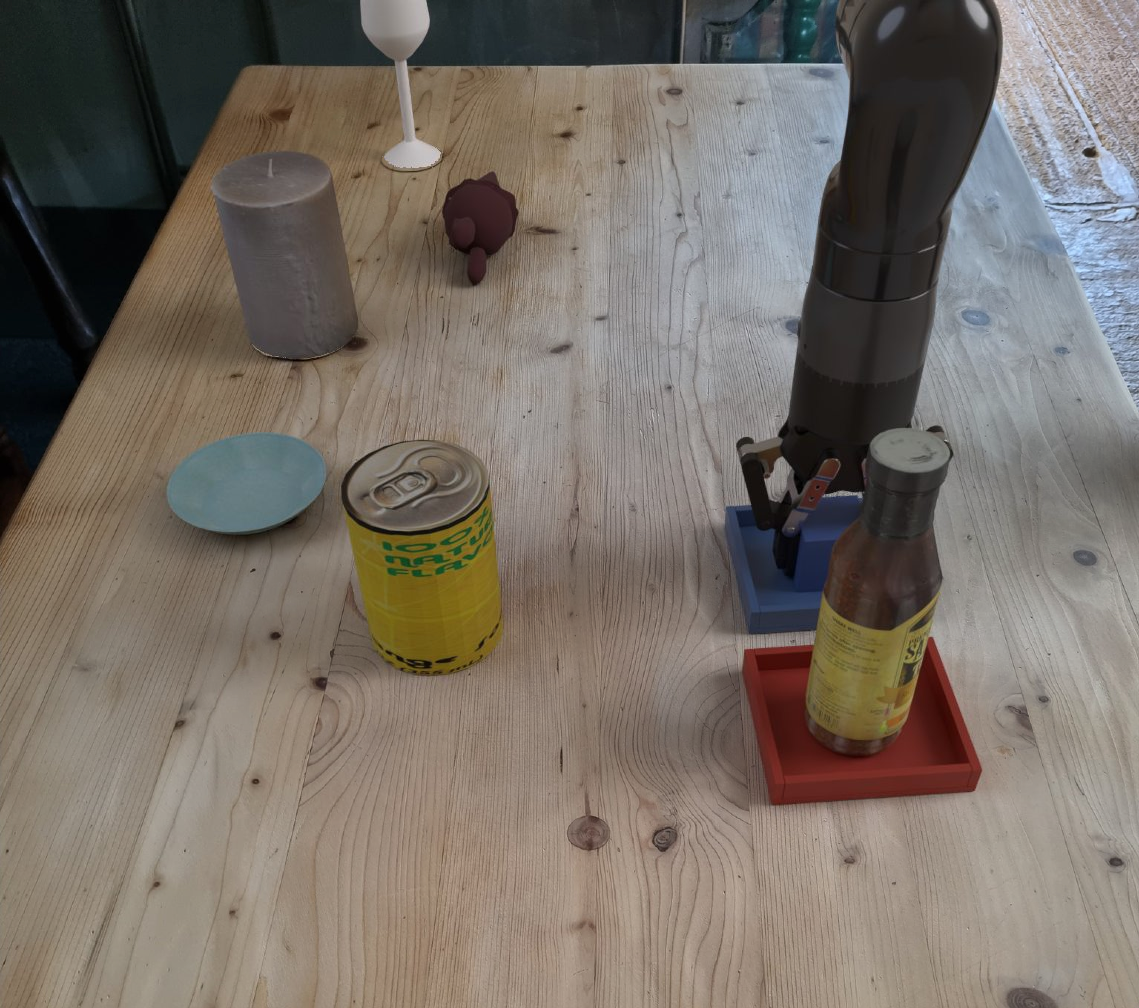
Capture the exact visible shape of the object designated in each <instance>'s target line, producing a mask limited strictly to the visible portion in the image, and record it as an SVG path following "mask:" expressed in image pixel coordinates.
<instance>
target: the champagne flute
mask: <svg viewBox="0 0 1139 1008" xmlns="http://www.w3.org/2000/svg"><path fill="white" fill-rule="evenodd" d="M359 2H360V5H359V6H360V21H361V28H362V30H363V32H364V35H365V36H366V37H367V39H368V40H369V41H370V43H371V44H372V45H373V46H374V47H375V48H376V49H378V50H379V52H381V53H383V54H384V56H386V57H387V58H389V59H391V60H393V61H394V66H395V74H396V75H395V76H396V82H397V89H398V91H397V92H398V98H399V105H400V114H401V122H402V131H403V138H404V139H403V140H401V141H400V142H399V143H397V144H396V145H395V146H393V147H392V148H390V149H389V150H388V151H386V152H387V153H386V152H385V153H386V154H385V153H384V154H385V156H384V158H385V160H386V161H388V163H389V164H392V165H394V167H395V166H396V167H400V168H403V167H406V168H411V167H412V168H419V167H427V166H431V164H434V163H435V161H438V159H439V158H440V154H441V152H440V151H439V150H440V149H439V148H438V149H439V150H438V149H437V147H436V148H435V146H433V145H431V144H429V143H427V142H425V141H422V140H421V139H418V138H417V137H416V129H415V123H414V122H415V121H414V114H413V105H412V97H411V89H410V88H411V87H410V80H409V79H410V78H409V72H408V63H407V60H408V59H409V58H410V57H412V56H413V55H414V53H415V52H416V51H417V49H418V48H419V47H420V45H421V44H422V43H423V42H424V39H425V38H426V36H427V33H428V31H429V28H430V23H431V22H430V21H431V20H430V19H431V18H430V13H429V8H428V3H427V0H359Z"/></svg>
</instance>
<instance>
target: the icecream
mask: <svg viewBox="0 0 1139 1008" xmlns="http://www.w3.org/2000/svg"><path fill="white" fill-rule="evenodd" d="M441 209H442V210H441V215H442V218H443V221H444V232H445V235H446V236H447V238H448V245H449V246H450V247H452V249H454V250H455V251H458V252H459V253H461V254H464V255H467V256H468V258H467V266H466V267H467V269H466V274H467V278H468V281H469V283H470V284H471V285H473V286H475V285H480V284H481V283H482V282H483V280H484V278H485V277H486V274H487V271H488V266H487V265H488V264H487V263H488V259H487V257H488V256H493V255H495V254H497V253H498V252H499V251H500V250H501V248H502V247H503V246H505V244H506V242H507V241H508V240H509V239H510V238H511V237H513V236H514V233H515V232H516V226H517V220H518V217H519V214H520V213H519V209H518V208H517V199H516V196H515V195H514V194H513V193H512V192H511V191H508V190H506V189H504V188H502V187H501V186H500V182H499V179H498V176H497V173H496V172H495V171H489V172H487V173H486V174H484V175H483V176H482V177H480V178H478V179H474V178H471V177H469V178H464V179H463V181H462V182H460V184H457V185H456V186H453V187H452V188H450V189H448V191H447V193H446V195H445V199H444V203H443V206H442V208H441Z"/></svg>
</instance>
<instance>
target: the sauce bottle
mask: <svg viewBox="0 0 1139 1008" xmlns="http://www.w3.org/2000/svg"><path fill="white" fill-rule="evenodd" d="M925 431H926V430H923V429H920V428H913V427H912V428H896V429H891V430H887V431H885V432H882V433H880V434H879V435H877V436H875V437H874V439H873V440H872V441H871V443H870V445H869V449H868V453H867V459H866V463H865V473H866V476H867V480H866V485H865V492H864V496H863V497H862V498H863V501H862V502H861V504H860V506H859V516H860V517H858V518H857V519H856V520H855V521H853V523H852V524H850V525H849V526H848V527H847V528H846V529H845V530H844V531H843V533H842V534H841V535H840V536H839V538H838V539H837V541H836V542H835V544H834V547H833V549H832V552H831V556H830V561H829V570H828V577H827V580H826V582H825V585H824V588H823V593H822V599H821V605H820V611H819V617H818V623H817V629H816V630H815V634H814V635H815V636H814V642H813V645H814V647H813V653H812V660H811V666H810V672H809V679H808V685H807V690H806V709H805V720H806V724H807V727H808V729H809V731H810V732H811V733H812V734H813V736H814V737H815V739H816V740H817V741H818V742H819V743H821V744H822V745H823V746H825V747H827V748H829V749H830V750H832V751H833V752H837V753H841V754H844V755H854V756H869V755H874V754H876V753H879V752H881V751H883V750H885V749H887V748H888V747H889V746H890V745H891V744H892V743H894V741H895V740H896V738H897V737H898V735H899V733H900V732H901V731H902V726H903V724H904V723H905V722H906V720H907V717H908V714H909V710H910V706H911V702H912V698H913V695H914V691H915V687H916V683H917V679H918V675H919V671H920V667H921V664H922V661H923V656H924V653H925V648H926V645H927V642H928V638H929V637H930V632H931V629H932V625H933V622H934V616H935V612H936V609H937V606H938V605H937V604H938V601H939V597H940V592H941V589H942V585H943V580H944V577H943V572H942V567H941V562H940V557H939V551H938V545H937V540H936V535H935V527H934V520H935V510H936V506H937V501H938V498H939V496H940V489H941V486H942V485H943V484H944V483H945V482H946V479H947V476H948V469H949V465H950V462H951V460H950V450H949V448H948V446H947V445H946V444H945V443H944V442H943V441H942V440H941V439H940V438H938V437H936V436H934V435H932V434H930V433H928V432H925ZM949 461H950V462H949Z"/></svg>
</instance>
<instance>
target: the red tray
mask: <svg viewBox="0 0 1139 1008" xmlns="http://www.w3.org/2000/svg"><path fill="white" fill-rule="evenodd" d="M813 647H814V644H802V645H799V644H798V645H787V646H785V645H784V646H771V647H756V648H745V649H744V650H743V660H742V667H741V672H742V677H743V682H744V686H745V692H746V695H747V696H746V697H747V701H748V705H749V709H750V714H751V719H752V723H753V728H754V732H755V736H756V741H757V746H758V750H759V755H760V759H761V764H762V768H763V773H764V778H765V782H766V787H767V791H768V796H769V800H770V803H771V805H772V806H778V805H791V804H804V803H805V804H806V803H807V804H808V803H819V802H831V801H832V802H834V801H835V802H836V801H848V800H851V801H852V800H865V799H878V798H892V797H893V798H894V797H907V796H921V795H922V796H923V795H935V794H936V795H937V794H950V793H951V794H953V793H965V792H974V791H976V788H977V786H978V783H979V781H980V778H981V776H982V773H983V768H982V764H981V761H980V759H979V757H978V754H977V751H976V749H975V746H974V743H973V740H972V738H971V735H970V733H969V730H968V727H967V724H966V722H965V719H964V716H963V714H962V711H961V708H960V706H959V703H958V700H957V698H956V695H955V692H954V690H953V687H952V684H951V681H950V679H949V676H948V673H947V671H946V668H945V665H944V663H943V659H942V657H941V654H940V652H939V649H938V646H937V644H936V641H935V638H934V636H929V638H928V642H927V645H926V648H925V653H924V656H923V661H922V664H921V667H920V671H919V675H918V679H917V683H916V687H915V691H914V695H913V698H912V702H911V706H910V710H909V714H908V717H907V720H906V722H905V723H904V724H903V726H902V731H901V732H900V733H899V735H898V737H897V738H896V740H895V741H894V743H892V744H891V745H890V746H889V747H888V748H887V749H885V750H883V751H881V752H879V753H876V754H874V755H869V756H854V755H844V754H841V753H837V752H833V751H832V750H830V749H829V748H827V747H825V746H823V745H822V744H821V743H819V742H818V741H817V740H816V739H815V737H814V736H813V734H812V733H811V732H810V731H809V729H808V727H807V724H806V720H805V709H806V690H807V685H808V679H809V672H810V666H811V660H812V653H813Z"/></svg>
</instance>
